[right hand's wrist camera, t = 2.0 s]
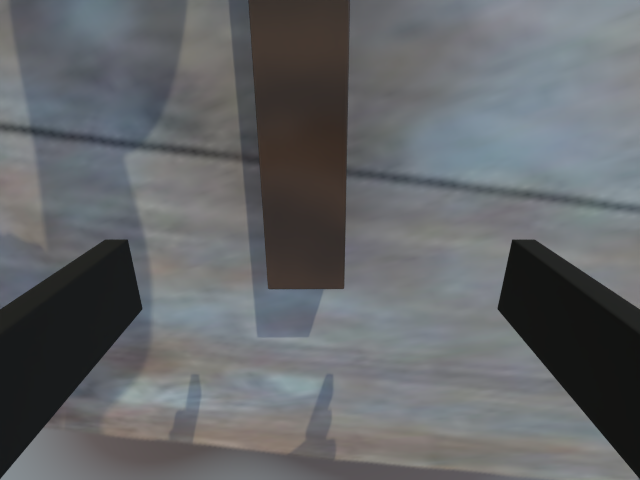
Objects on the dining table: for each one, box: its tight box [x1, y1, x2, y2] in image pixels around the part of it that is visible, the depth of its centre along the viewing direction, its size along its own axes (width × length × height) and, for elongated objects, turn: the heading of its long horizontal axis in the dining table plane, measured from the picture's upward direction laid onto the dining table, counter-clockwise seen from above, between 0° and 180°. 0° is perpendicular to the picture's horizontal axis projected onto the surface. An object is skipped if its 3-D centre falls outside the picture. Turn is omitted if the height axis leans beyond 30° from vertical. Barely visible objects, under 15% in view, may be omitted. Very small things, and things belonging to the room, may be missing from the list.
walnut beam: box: [249, 0, 350, 289], centre depth 22 cm, size 30×5×8 cm, turn 0°
